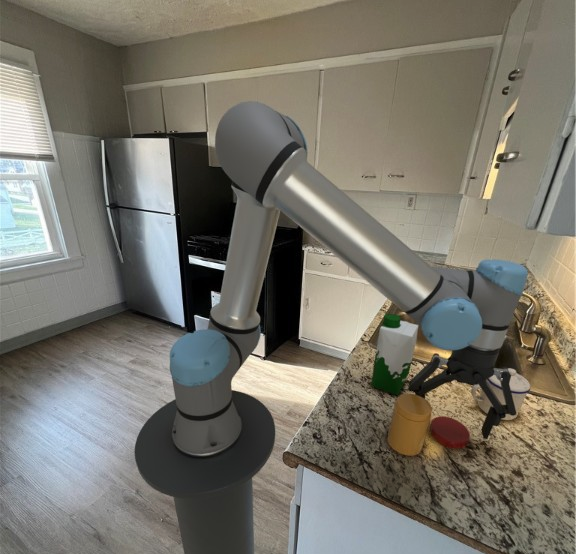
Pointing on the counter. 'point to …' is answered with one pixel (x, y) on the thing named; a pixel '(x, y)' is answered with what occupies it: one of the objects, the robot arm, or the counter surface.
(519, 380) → the teacup with lid
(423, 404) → the jam jar
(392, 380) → the milk carton
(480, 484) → the counter surface
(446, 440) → the jam lid
